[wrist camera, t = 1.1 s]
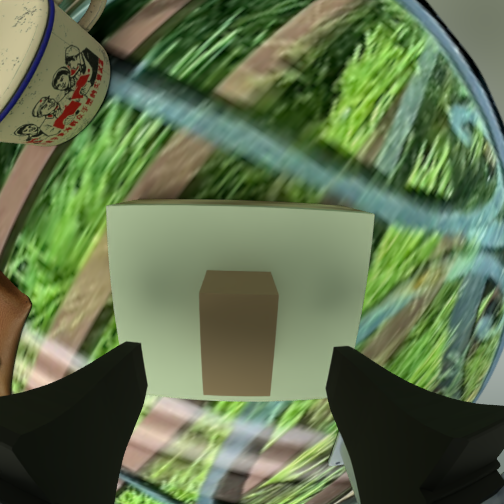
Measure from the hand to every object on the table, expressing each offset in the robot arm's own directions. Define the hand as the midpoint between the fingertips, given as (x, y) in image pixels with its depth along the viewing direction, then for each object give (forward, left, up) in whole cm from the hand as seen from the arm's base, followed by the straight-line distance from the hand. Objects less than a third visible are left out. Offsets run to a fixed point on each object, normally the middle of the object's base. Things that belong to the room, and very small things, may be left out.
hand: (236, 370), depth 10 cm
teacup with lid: (+12, -15, -10) cm, 22 cm away
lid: (0, 0, -5) cm, 5 cm away
